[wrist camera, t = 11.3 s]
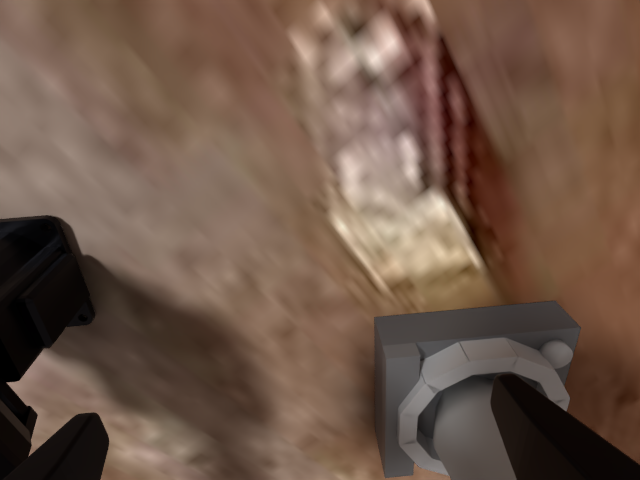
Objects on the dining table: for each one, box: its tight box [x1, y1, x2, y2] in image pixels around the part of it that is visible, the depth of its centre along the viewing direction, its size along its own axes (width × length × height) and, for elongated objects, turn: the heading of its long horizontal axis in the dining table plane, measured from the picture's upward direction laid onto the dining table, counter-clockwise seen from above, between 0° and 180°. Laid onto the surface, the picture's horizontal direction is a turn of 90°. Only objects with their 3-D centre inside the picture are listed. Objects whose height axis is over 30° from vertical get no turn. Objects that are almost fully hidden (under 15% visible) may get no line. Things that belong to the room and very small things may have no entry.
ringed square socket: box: [374, 301, 581, 478], centre depth 25 cm, size 11×10×4 cm
